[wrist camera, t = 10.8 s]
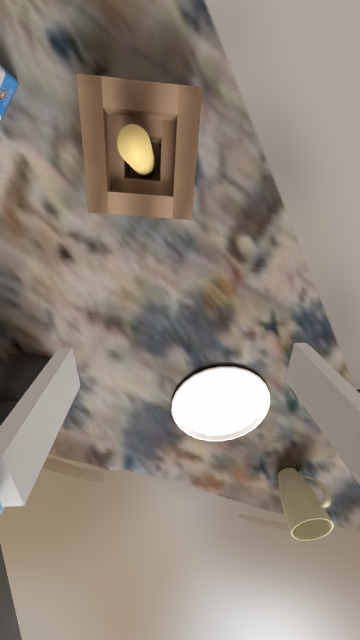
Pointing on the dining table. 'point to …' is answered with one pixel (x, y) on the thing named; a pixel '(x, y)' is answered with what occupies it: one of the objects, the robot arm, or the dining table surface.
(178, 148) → the bore block
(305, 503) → the mug
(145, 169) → the pin
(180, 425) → the plate
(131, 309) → the dining table surface
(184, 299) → the dining table surface
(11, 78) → the ink box
